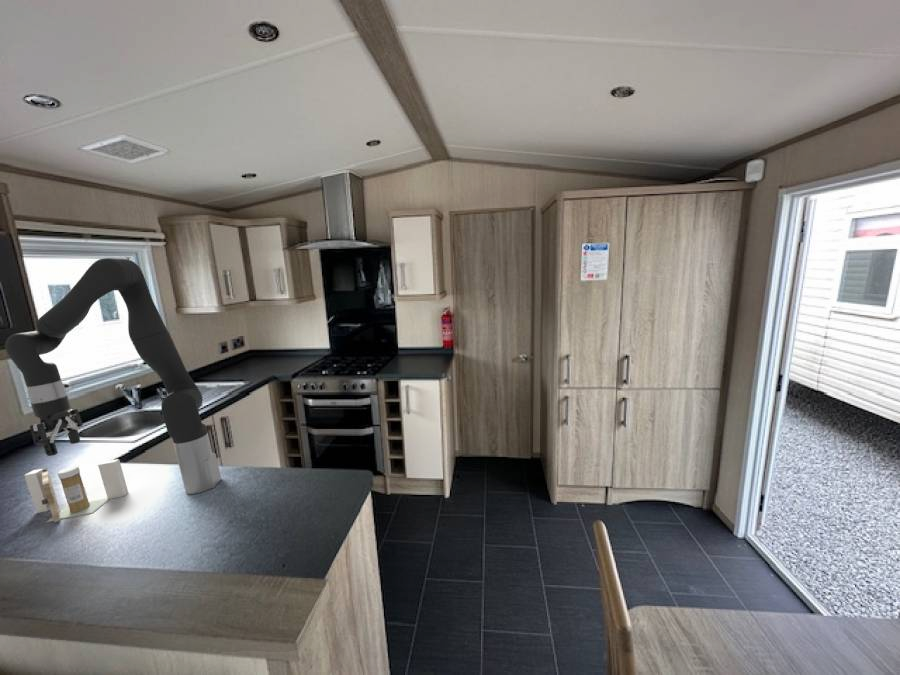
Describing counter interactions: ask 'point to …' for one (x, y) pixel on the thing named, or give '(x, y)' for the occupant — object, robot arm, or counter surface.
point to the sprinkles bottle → (73, 489)
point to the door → (50, 496)
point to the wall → (113, 478)
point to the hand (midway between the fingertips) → (64, 448)
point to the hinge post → (37, 490)
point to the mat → (90, 509)
